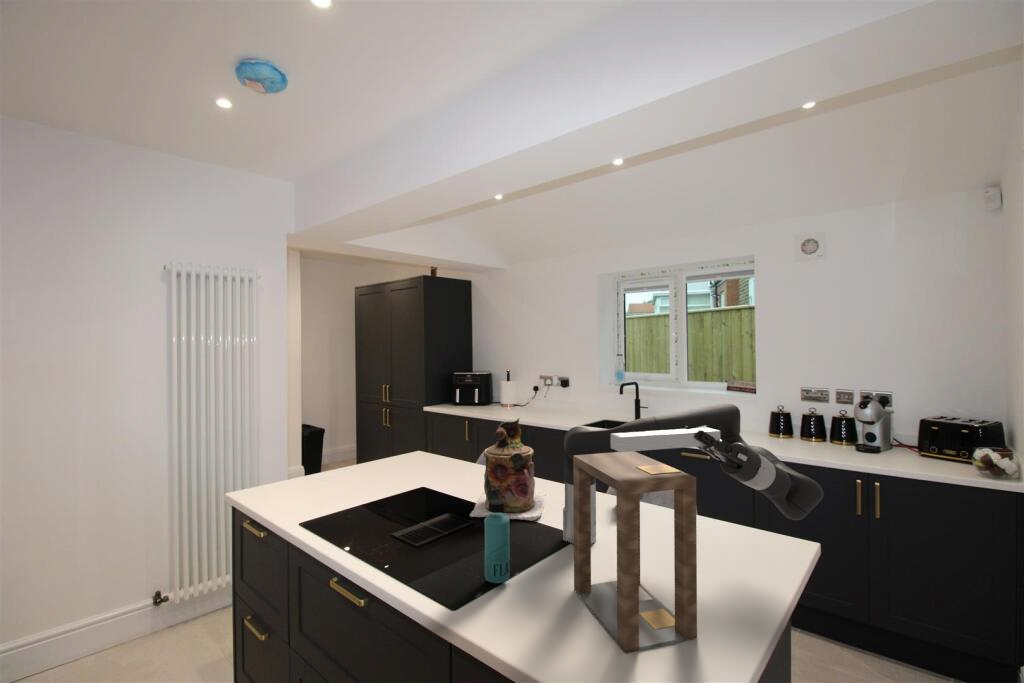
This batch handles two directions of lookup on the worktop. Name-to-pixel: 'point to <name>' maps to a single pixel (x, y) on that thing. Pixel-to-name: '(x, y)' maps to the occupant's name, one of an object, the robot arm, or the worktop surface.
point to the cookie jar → (510, 476)
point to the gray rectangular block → (659, 439)
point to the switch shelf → (636, 551)
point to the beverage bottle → (497, 543)
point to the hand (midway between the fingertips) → (691, 432)
